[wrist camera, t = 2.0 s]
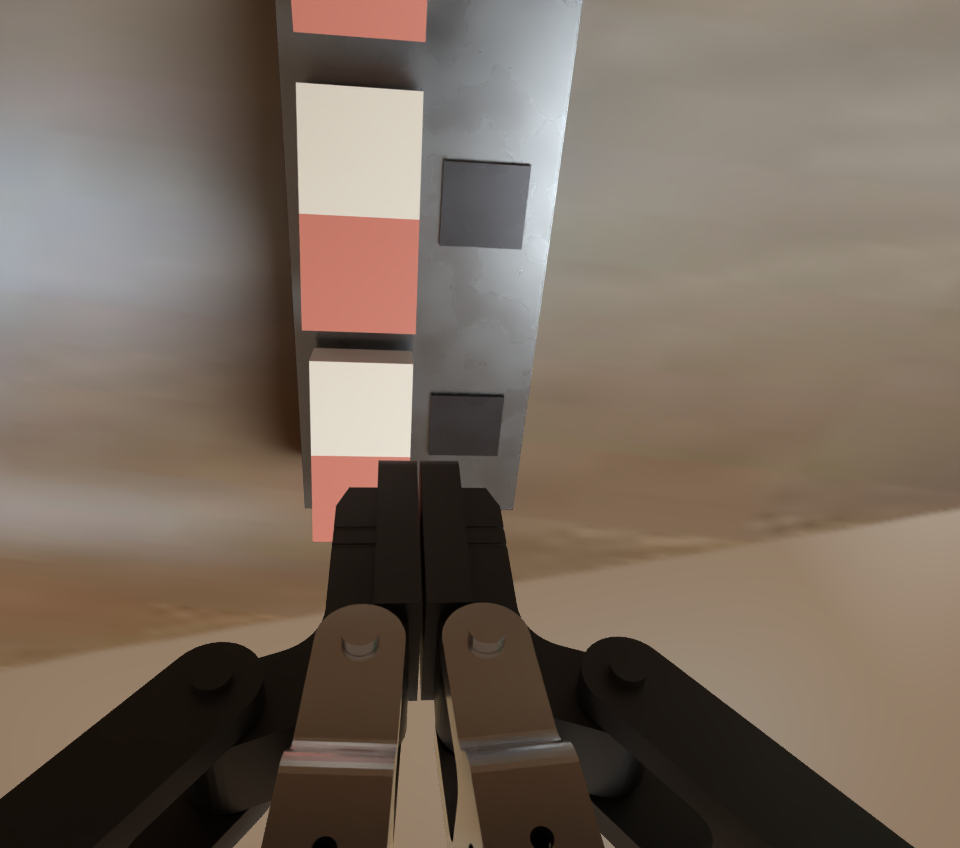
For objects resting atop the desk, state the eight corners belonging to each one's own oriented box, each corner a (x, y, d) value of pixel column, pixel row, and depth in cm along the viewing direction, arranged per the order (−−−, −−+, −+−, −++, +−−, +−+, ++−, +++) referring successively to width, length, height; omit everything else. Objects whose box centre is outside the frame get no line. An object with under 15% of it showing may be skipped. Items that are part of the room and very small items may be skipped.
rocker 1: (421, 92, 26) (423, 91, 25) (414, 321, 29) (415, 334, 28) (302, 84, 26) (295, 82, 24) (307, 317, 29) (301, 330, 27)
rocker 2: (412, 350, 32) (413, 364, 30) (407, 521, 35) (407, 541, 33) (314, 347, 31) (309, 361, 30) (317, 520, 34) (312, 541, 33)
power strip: (597, -298, 24) (629, -332, 21) (504, 461, 41) (513, 512, 38) (274, -341, 23) (251, -384, 20) (313, 457, 40) (304, 511, 36)
